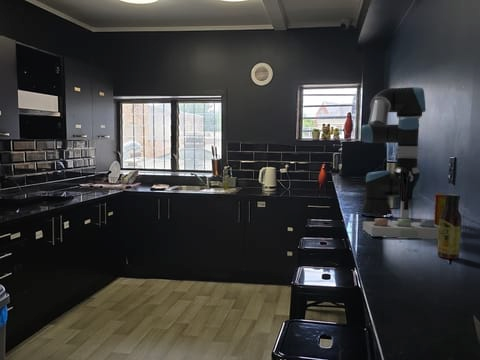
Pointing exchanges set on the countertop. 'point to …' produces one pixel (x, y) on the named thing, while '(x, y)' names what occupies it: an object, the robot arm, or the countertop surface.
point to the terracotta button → (381, 222)
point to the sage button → (404, 223)
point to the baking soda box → (438, 206)
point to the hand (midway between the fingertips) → (404, 217)
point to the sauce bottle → (450, 228)
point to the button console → (401, 230)
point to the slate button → (427, 223)
